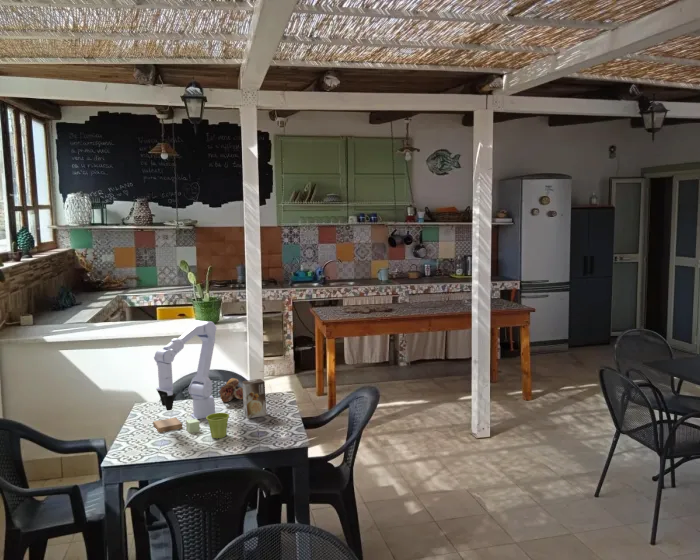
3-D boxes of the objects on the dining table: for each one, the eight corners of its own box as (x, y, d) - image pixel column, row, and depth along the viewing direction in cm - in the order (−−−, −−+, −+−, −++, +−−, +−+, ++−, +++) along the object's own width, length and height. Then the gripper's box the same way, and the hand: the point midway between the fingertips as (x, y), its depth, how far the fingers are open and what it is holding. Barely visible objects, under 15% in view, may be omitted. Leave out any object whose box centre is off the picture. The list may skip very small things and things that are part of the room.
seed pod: (207, 392, 296) (235, 383, 295) (213, 377, 312) (241, 368, 310) (218, 415, 300) (246, 405, 299) (224, 398, 316) (251, 389, 314)
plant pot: (210, 442, 249) (209, 421, 248) (204, 435, 258) (203, 415, 257) (233, 437, 254) (232, 417, 253) (226, 431, 262) (225, 411, 261)
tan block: (176, 422, 275) (175, 417, 275) (182, 429, 267) (182, 423, 267) (153, 427, 270) (153, 421, 270) (158, 433, 262) (158, 428, 261)
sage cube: (196, 428, 266) (196, 418, 266) (199, 431, 262) (199, 421, 262) (186, 430, 264) (186, 420, 263) (189, 433, 260) (188, 423, 260)
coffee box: (262, 411, 287) (261, 378, 285) (266, 415, 281) (265, 381, 279) (243, 414, 283) (242, 380, 281) (247, 418, 277) (245, 384, 275)
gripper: (152, 374, 267) (154, 405, 269) (159, 382, 255) (161, 413, 256) (168, 372, 271) (170, 402, 272) (176, 379, 258) (178, 410, 260)
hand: (167, 407), depth 264 cm, fingers open, 7 cm apart
